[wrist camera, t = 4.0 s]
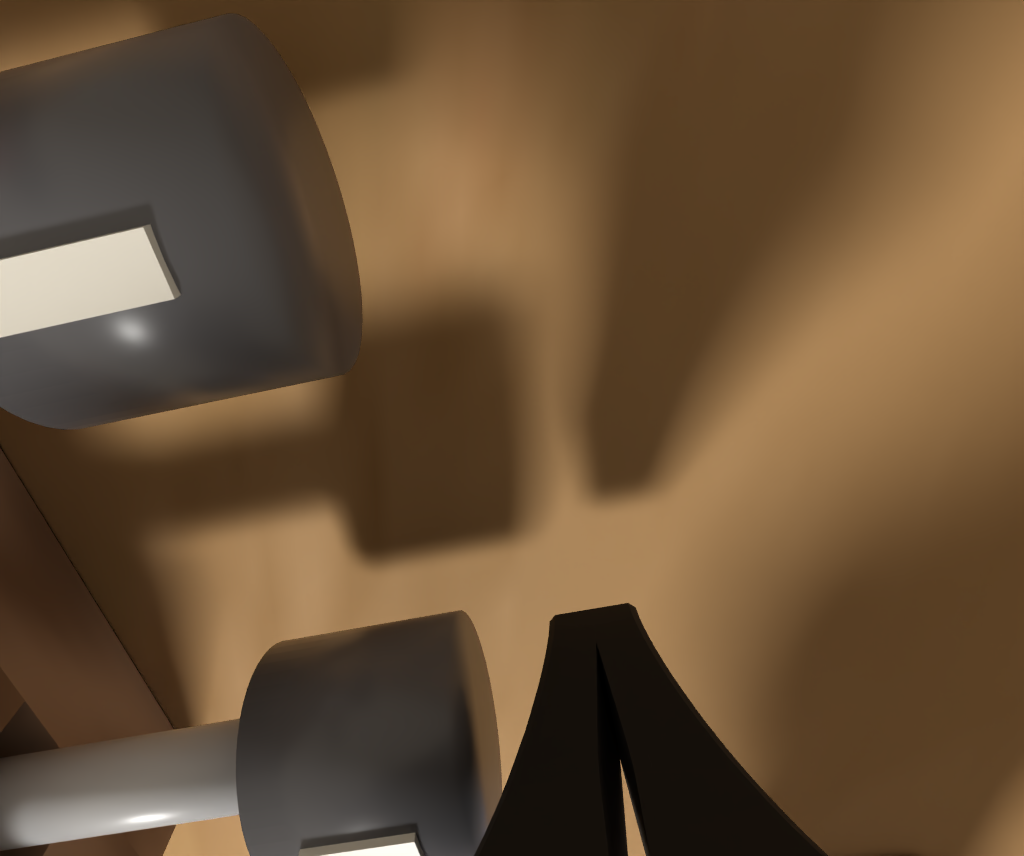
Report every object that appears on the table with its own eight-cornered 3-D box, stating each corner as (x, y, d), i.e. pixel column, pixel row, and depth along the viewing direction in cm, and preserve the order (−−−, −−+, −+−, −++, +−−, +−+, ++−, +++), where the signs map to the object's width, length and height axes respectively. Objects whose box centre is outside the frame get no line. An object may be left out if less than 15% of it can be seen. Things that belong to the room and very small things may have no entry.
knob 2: (502, 714, 13) (501, 925, 10) (75, 781, 14) (-59, 998, 11) (456, 565, 12) (437, 757, 8) (-23, 650, 12) (-214, 858, 9)
